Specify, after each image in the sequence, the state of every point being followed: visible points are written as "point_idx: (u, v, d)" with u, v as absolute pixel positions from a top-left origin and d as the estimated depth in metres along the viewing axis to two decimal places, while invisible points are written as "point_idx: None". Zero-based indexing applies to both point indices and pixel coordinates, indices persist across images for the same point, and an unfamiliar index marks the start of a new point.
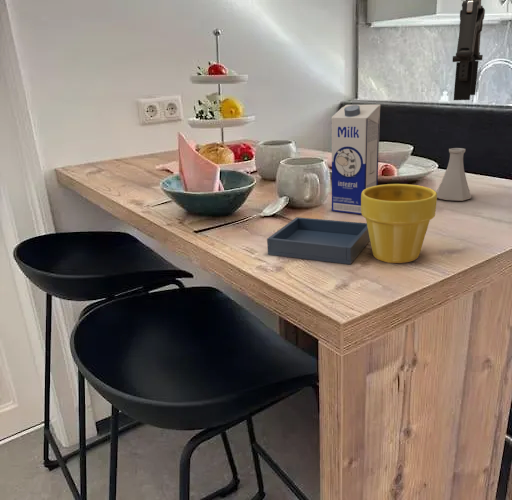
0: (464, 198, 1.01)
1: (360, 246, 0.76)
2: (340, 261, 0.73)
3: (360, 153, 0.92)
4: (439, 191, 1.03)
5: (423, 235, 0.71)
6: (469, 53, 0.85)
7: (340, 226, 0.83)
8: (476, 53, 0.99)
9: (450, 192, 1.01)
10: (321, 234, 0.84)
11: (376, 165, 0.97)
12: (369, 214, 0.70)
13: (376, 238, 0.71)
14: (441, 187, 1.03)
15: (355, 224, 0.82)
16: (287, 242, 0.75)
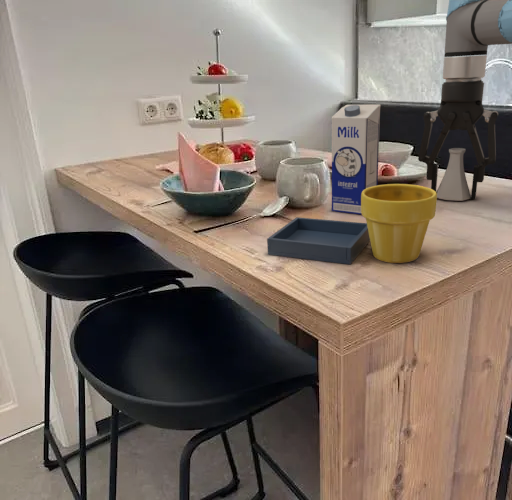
0: (464, 198, 1.01)
1: (360, 246, 0.76)
2: (340, 261, 0.73)
3: (360, 153, 0.92)
4: (439, 191, 1.03)
5: (423, 235, 0.71)
6: None
7: (340, 226, 0.83)
8: (476, 157, 0.99)
9: (450, 192, 1.01)
10: (321, 234, 0.84)
11: (376, 165, 0.97)
12: (369, 214, 0.70)
13: (376, 238, 0.71)
14: (441, 187, 1.03)
15: (355, 224, 0.82)
16: (287, 242, 0.75)
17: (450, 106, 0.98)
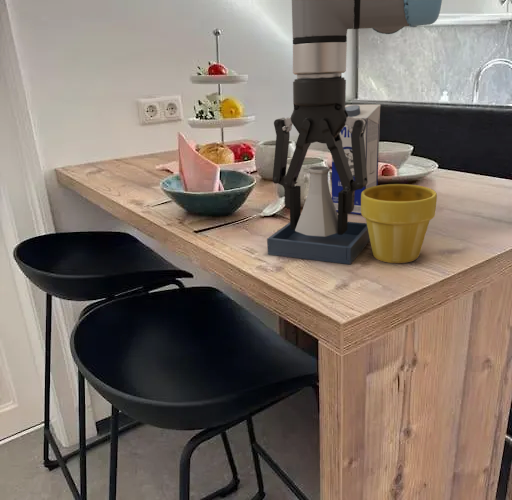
0: (328, 233, 0.76)
1: (360, 246, 0.76)
2: (340, 261, 0.73)
3: None
4: (299, 223, 0.78)
5: (423, 235, 0.71)
6: None
7: None
8: None
9: (310, 224, 0.76)
10: None
11: (376, 165, 0.97)
12: (369, 214, 0.70)
13: (376, 238, 0.71)
14: (301, 217, 0.78)
15: (355, 224, 0.82)
16: (287, 242, 0.75)
17: (304, 111, 0.73)
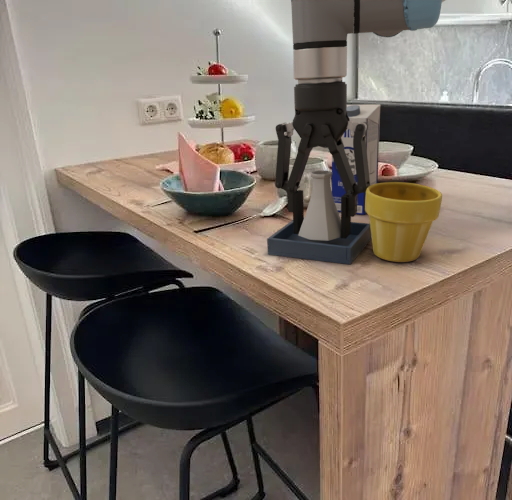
0: (332, 237, 0.76)
1: (360, 246, 0.76)
2: (340, 261, 0.73)
3: None
4: (302, 227, 0.78)
5: (425, 235, 0.71)
6: None
7: None
8: None
9: (313, 229, 0.76)
10: None
11: (376, 165, 0.97)
12: (373, 211, 0.69)
13: (378, 236, 0.71)
14: (304, 222, 0.78)
15: (355, 224, 0.82)
16: (287, 242, 0.75)
17: (306, 116, 0.73)
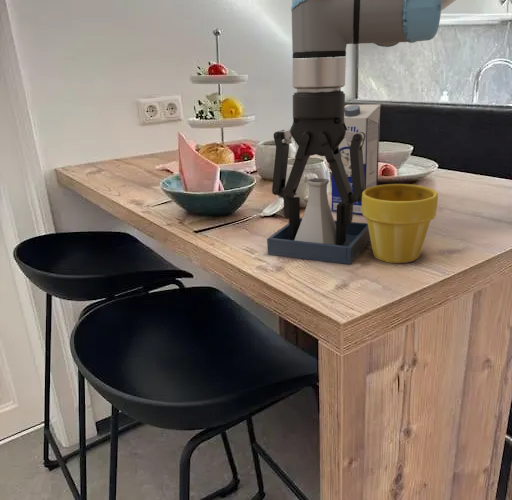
0: None
1: (360, 246, 0.76)
2: (340, 261, 0.73)
3: None
4: (297, 234, 0.79)
5: (424, 235, 0.71)
6: None
7: None
8: None
9: (309, 236, 0.77)
10: None
11: (376, 165, 0.97)
12: (370, 214, 0.70)
13: (377, 238, 0.71)
14: (300, 229, 0.78)
15: (355, 224, 0.82)
16: (287, 242, 0.75)
17: (304, 124, 0.73)
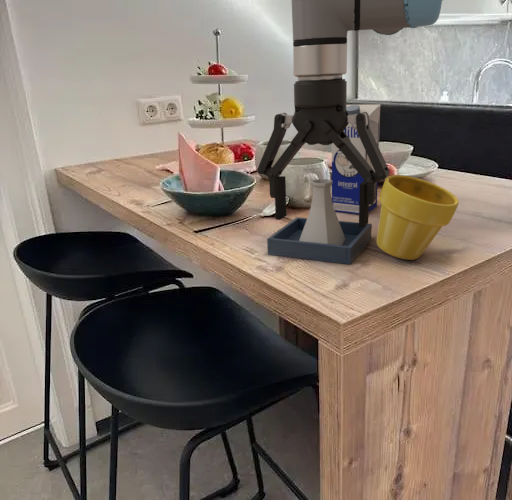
0: None
1: (360, 246, 0.76)
2: (340, 261, 0.73)
3: (360, 153, 0.92)
4: (302, 235, 0.79)
5: (432, 238, 0.70)
6: None
7: None
8: None
9: (313, 237, 0.77)
10: None
11: None
12: (388, 204, 0.68)
13: (387, 228, 0.70)
14: (304, 230, 0.78)
15: (355, 224, 0.82)
16: (287, 242, 0.75)
17: (307, 116, 0.73)
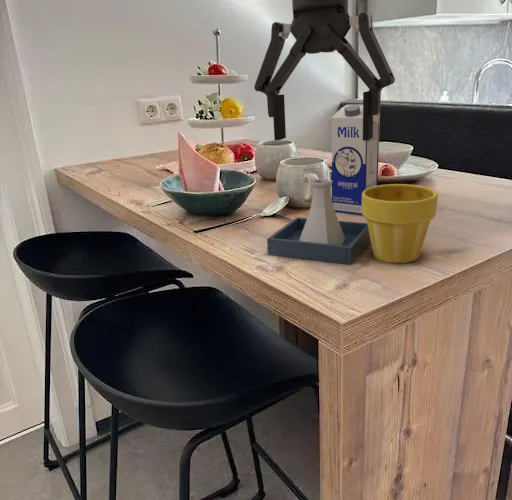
0: None
1: (360, 246, 0.76)
2: (340, 261, 0.73)
3: (360, 153, 0.92)
4: (302, 235, 0.79)
5: (423, 235, 0.71)
6: None
7: None
8: (363, 81, 0.68)
9: (313, 237, 0.77)
10: None
11: (376, 165, 0.97)
12: (369, 214, 0.70)
13: (376, 238, 0.71)
14: (304, 230, 0.78)
15: (355, 224, 0.82)
16: (287, 242, 0.75)
17: (307, 21, 0.68)
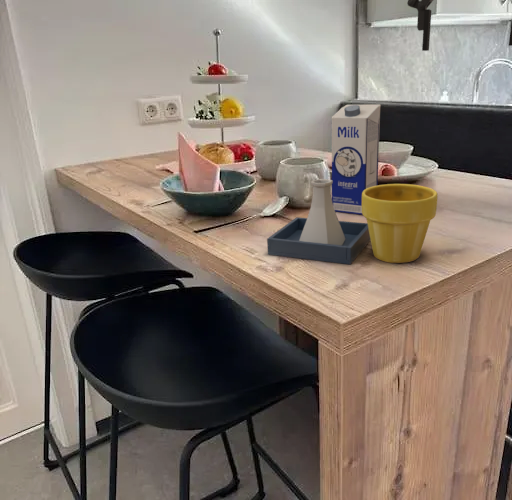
0: None
1: (360, 246, 0.76)
2: (340, 261, 0.73)
3: (360, 153, 0.92)
4: (302, 235, 0.79)
5: (423, 235, 0.71)
6: None
7: None
8: None
9: (313, 237, 0.77)
10: None
11: (376, 165, 0.97)
12: (369, 214, 0.70)
13: (376, 238, 0.71)
14: (304, 230, 0.78)
15: (355, 224, 0.82)
16: (287, 242, 0.75)
17: None
